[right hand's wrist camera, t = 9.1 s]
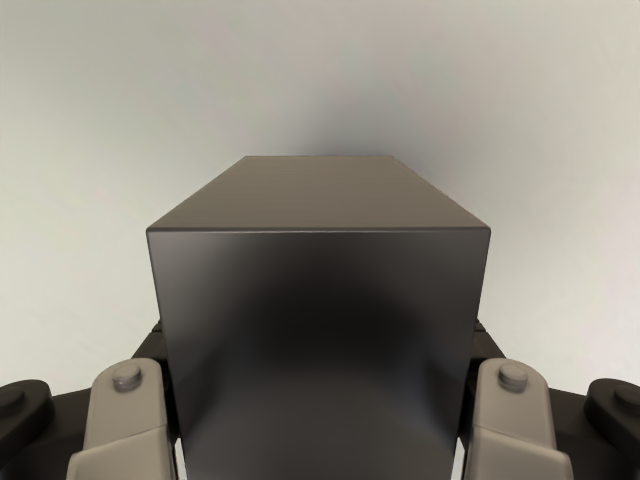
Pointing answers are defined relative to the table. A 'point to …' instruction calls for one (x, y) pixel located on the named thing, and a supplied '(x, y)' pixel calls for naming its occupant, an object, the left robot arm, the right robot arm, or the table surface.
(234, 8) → the table surface
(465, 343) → the bar
